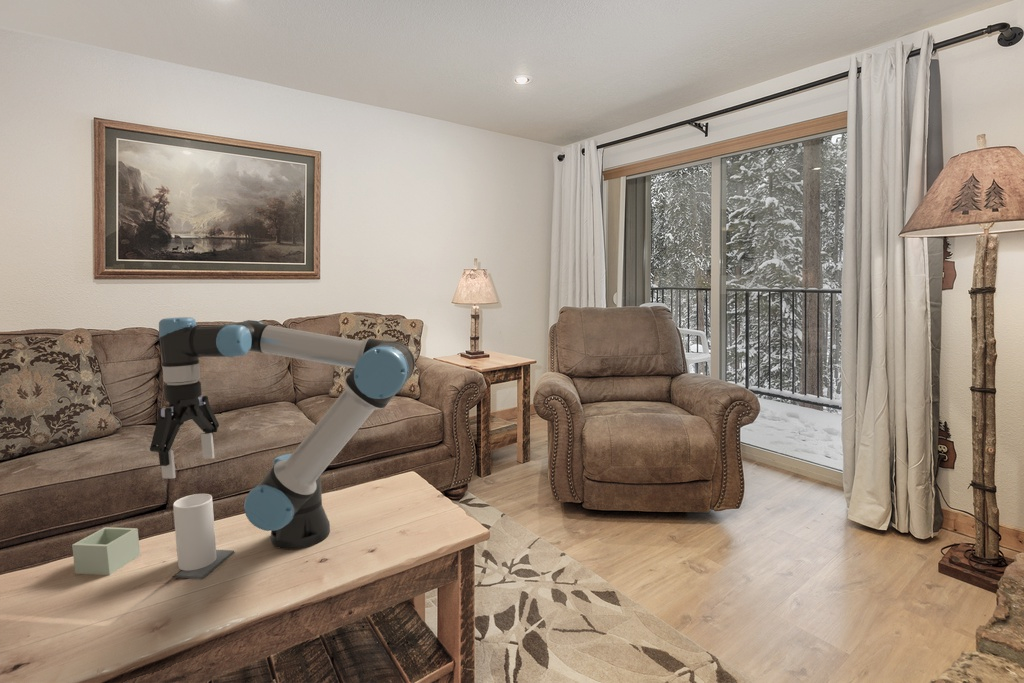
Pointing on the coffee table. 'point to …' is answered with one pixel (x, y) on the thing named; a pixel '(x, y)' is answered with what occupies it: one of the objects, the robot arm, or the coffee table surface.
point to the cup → (194, 531)
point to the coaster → (203, 572)
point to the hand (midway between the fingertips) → (189, 467)
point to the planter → (106, 551)
